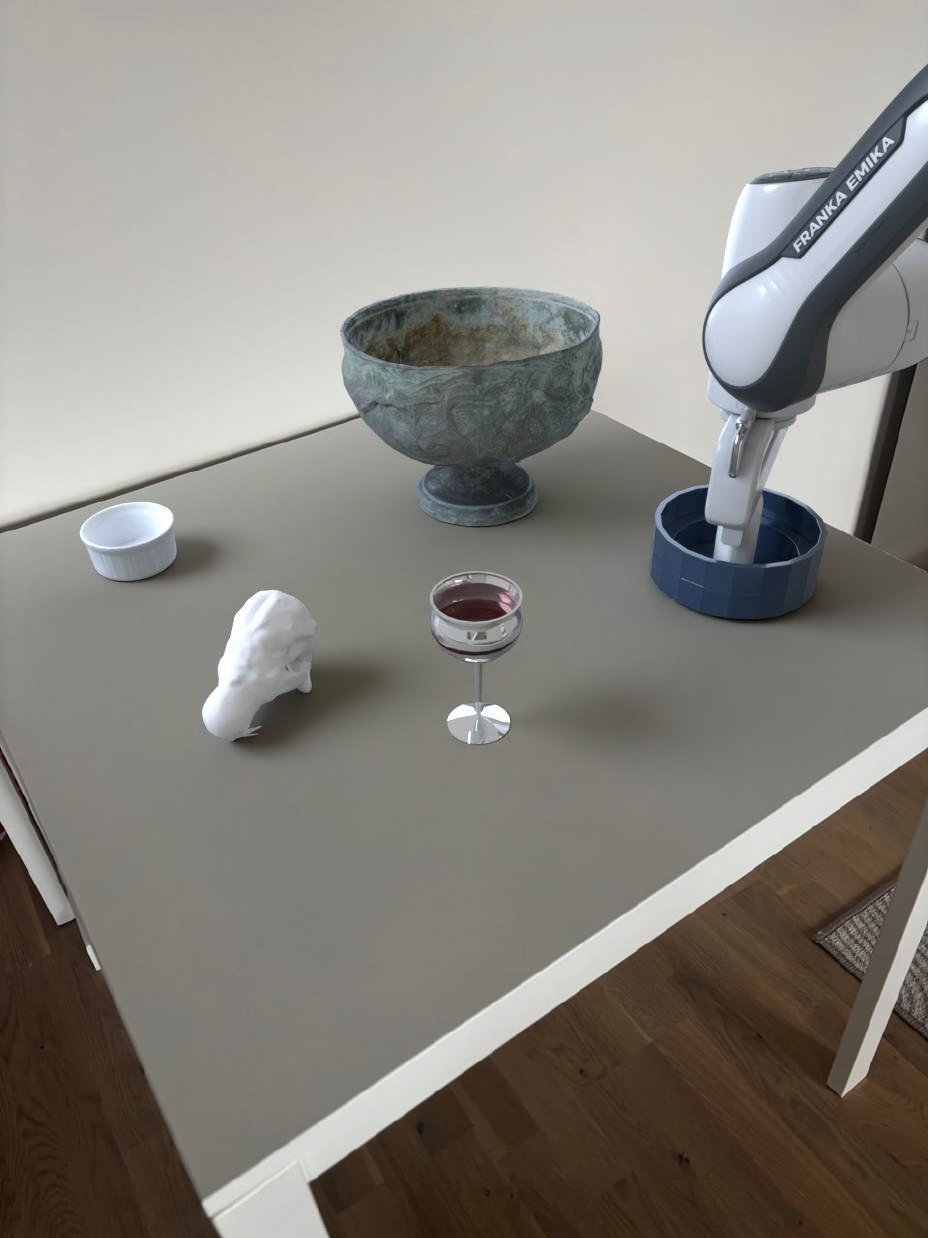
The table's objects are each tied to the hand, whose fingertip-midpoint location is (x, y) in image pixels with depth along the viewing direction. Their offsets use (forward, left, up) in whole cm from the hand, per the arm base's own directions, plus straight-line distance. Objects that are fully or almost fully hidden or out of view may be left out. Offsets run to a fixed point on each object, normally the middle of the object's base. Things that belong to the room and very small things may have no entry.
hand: (739, 523), depth 88 cm
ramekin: (+55, +19, -6) cm, 59 cm away
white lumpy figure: (+31, +33, -6) cm, 46 cm away
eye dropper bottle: (0, 0, -5) cm, 5 cm away
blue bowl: (0, 0, -6) cm, 6 cm away
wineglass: (+14, +28, -6) cm, 32 cm away
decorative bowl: (+29, -6, -6) cm, 30 cm away
